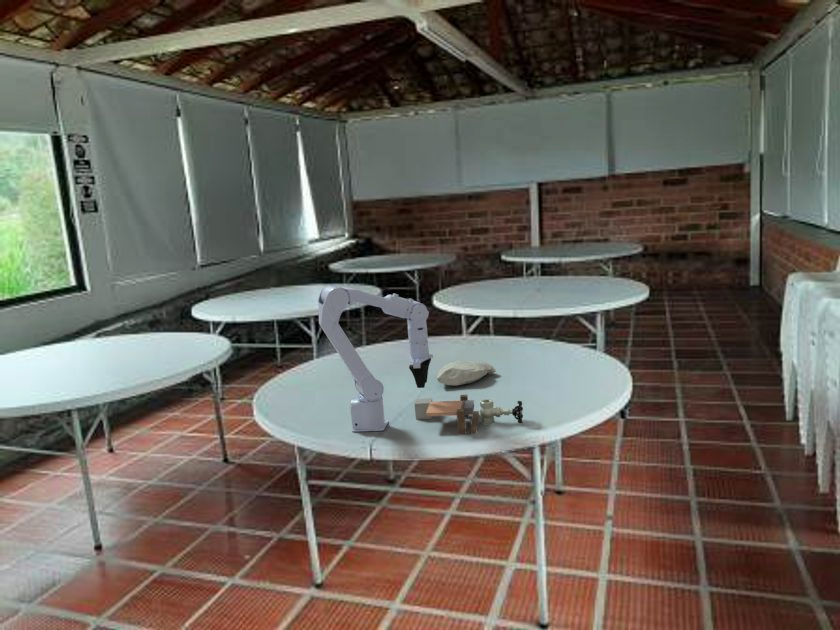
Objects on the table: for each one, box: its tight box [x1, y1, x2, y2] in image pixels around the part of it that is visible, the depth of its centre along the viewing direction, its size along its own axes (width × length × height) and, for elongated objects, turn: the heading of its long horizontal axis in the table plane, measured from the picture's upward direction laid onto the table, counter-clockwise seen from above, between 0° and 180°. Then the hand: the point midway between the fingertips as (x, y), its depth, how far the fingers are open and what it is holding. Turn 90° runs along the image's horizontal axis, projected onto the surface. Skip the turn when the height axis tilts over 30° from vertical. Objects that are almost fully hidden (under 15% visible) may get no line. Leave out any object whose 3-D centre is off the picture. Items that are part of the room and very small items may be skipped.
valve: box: [479, 398, 524, 425], centre depth 189 cm, size 7×7×12 cm
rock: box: [436, 359, 497, 386], centre depth 235 cm, size 19×7×25 cm
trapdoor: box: [426, 399, 475, 417], centre depth 190 cm, size 13×10×2 cm
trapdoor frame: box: [456, 394, 480, 435], centre depth 190 cm, size 5×15×6 cm, turn 172°
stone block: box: [414, 397, 433, 420], centre depth 200 cm, size 5×5×5 cm
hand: (422, 385), depth 198 cm, fingers open, 4 cm apart
